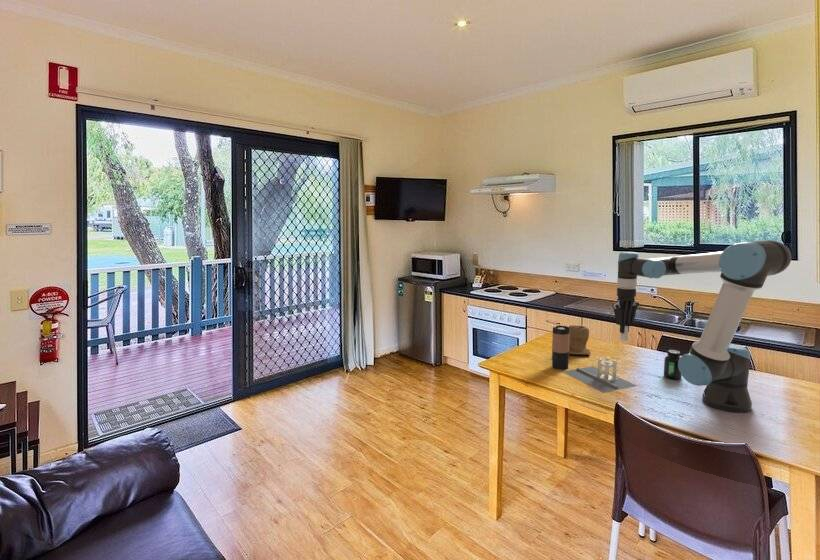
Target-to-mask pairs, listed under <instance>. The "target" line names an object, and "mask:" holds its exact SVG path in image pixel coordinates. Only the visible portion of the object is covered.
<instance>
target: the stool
mask: <svg viewBox="0 0 820 560" xmlns="http://www.w3.org/2000/svg"><path fill="white" fill-rule="evenodd" d="M617 363H618V361H617V360H616V359H612V361H610V357H609V356H606V357H605V360H603V359H602V358H597V368H598V373H597V376H598V377H600V378H602V379H604V380H606V381H608V382H611V381H616V380H617V378H616V376H617V365H618V364H617ZM602 367H603V368H604V371H605V374H604V375H601V371H602V370H603V369H602ZM610 368H611V369H612V371H611V374H612V376H611V375H609V373H610Z"/></svg>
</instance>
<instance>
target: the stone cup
mask: <svg viewBox="0 0 820 560" xmlns="http://www.w3.org/2000/svg"><path fill="white" fill-rule="evenodd" d="M568 327H569V355H576V356H577V355H580V356H583V355H584V356H586V355H591V353H592V351H591V350H590V349H588V348H587V344H588V343H587V342H588V340H589V337H590V329H589V327H587V326H584V325H572V324H571V325H569V326H568Z"/></svg>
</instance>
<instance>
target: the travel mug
mask: <svg viewBox="0 0 820 560" xmlns="http://www.w3.org/2000/svg"><path fill="white" fill-rule="evenodd" d="M551 344H552V346H551V358H552V359H551V360H552V362H551V363H552V364H551V366H552V369H555V370H560V371H567V370H568V369H569V361H570V360H569V359H570V354H569V326H566V325H556V326H552V343H551Z"/></svg>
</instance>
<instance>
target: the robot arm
mask: <svg viewBox="0 0 820 560" xmlns="http://www.w3.org/2000/svg"><path fill="white" fill-rule="evenodd" d="M791 262H792V253H791V251H790V249H789V247H787V246H786V245H785V244H784V243H781V242H779V241H776V240H770V239H769V240H755V241H742V242H737V243H734V244H733V243H732V244H731V245H729V246H727V247H726V248H725V249H724V250H722V251H715V252H707V253H706V252H705V253H696V254H695V253H694V254H686V255H677V256H676V255H675V256H665V257H655V258H654V257H653V258H641V257H639V254H638V252H635V251H622V252H620V253H618V260H617V281H616V282H617V285H616V286H617V288H616V296H617V299H616V303H612V305H611V306H612V308H613V312H614V319H615V325H618V326H619V333H620V335H619V336H620V337H619V338H620V340H621V341H624V342H627V341H628V340H629V332H630V327H632V325H633V324H634V321H635V318H636V314H637V309H638V307H639V305H640V303H639V302H637V301H636V296H637V289H636V288H637V284H638V282H637V281H638V277H641V278H642V277H645V278H649V279H660V278H662V277H663V276H664V277H665V276H674V275H677V276H678V275H688V274H689V275H690V274H705V273H706V274H708V273H720V274H719V275H720V276H719V277H720V279H721V280H722V281H723V282H722V285H721V287H720V290H719V292H718V294H717V297H716V299H715V302H714V304H713V307H712V309H711V311H710V314H709V317H708V319H707V322H706V324H705V327H704V329H703V331H702V334H701V336H700V338H699V340H696V341H694V342H693V343H692V345H691V347H690V349H689V351H688V353H685V354H684V353H683V354H682V355H680V359H679V361H678V368H679V371H680V372H681V375H682V377H683V379H684V380H685V381H686V382H687V383H689V384H690V385H693V386H697V387H698V386H705V389H704V390H703V391H702V398H701V400H702V402H703V401H704V402H705V403H704V402H703V403H704V404H705V405H707V404H708V405H707V406H709V405H710V406H709V407H711V408H714V409H717V410H720V411H725V412H730V413H747V412H750V411H751V410H752V409H753V408H752V407H753V403H752V402H753V401H752V399H751V396H750V392H749V388H748V385H749V375H750V363H751V351H750V350H749V349H748V348H746V347H745V346H741V345H738V344H737V345H736V344H733V343H731V342H732V341H733V338H734V337H735V334H736V332H737V330H738V327H739V325H740V323H741V321H742V319H743V316H744V314H745V312H746V310H747V307H748V305H749V304H750V301H751V299H752V296H753V294H754V292H755V291H756V290H757V291H758V290H760V289H761V288H763V286H764V283H765V282H766V280H767V278H768V277H770V276H775V275H777V274H781V273H782V272H784V271H785V270H787V268H788V267H789V266H790V264H791Z"/></svg>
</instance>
